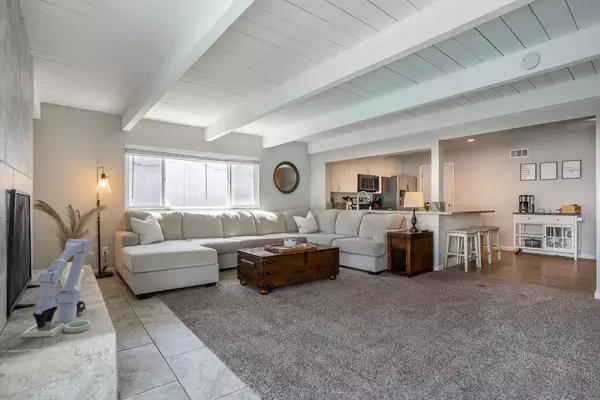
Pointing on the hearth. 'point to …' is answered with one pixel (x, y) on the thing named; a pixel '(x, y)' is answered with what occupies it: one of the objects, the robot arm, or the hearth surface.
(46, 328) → the grey short cylinder
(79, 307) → the pottery mug
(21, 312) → the hearth surface
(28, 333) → the parts tray
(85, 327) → the sage bowl
